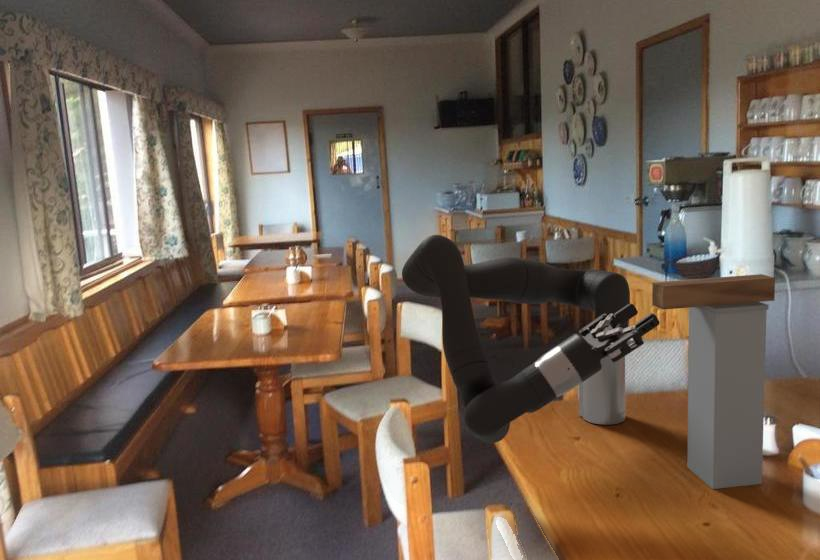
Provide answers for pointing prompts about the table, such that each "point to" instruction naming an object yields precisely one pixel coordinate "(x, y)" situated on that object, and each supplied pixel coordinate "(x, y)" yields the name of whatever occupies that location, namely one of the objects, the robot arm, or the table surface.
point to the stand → (726, 393)
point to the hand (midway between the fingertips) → (645, 312)
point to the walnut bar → (713, 291)
